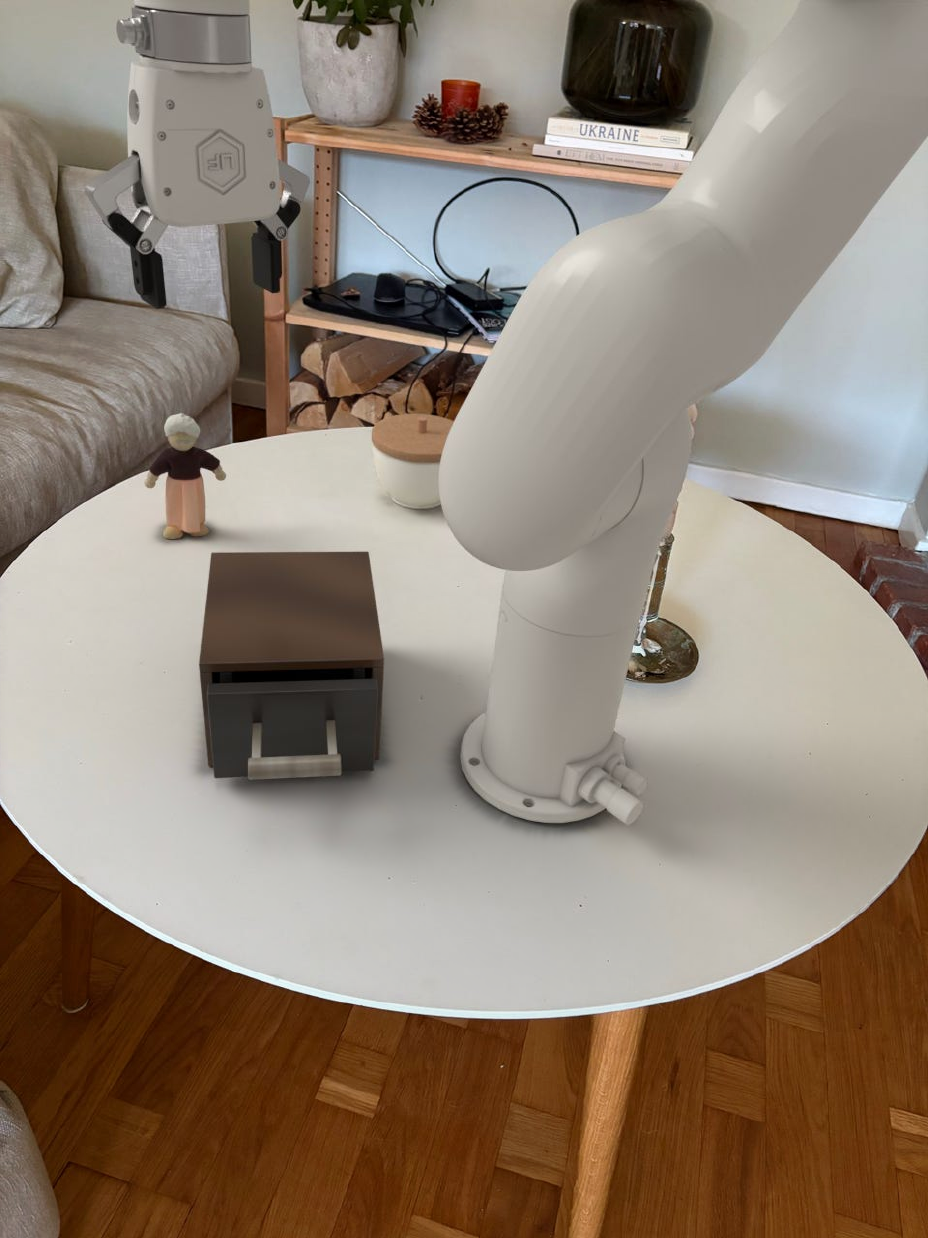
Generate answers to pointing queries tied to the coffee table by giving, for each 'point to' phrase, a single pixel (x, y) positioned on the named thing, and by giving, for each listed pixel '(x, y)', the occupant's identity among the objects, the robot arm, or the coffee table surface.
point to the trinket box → (410, 457)
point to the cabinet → (290, 618)
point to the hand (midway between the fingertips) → (212, 295)
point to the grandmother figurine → (184, 477)
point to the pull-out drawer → (292, 723)
